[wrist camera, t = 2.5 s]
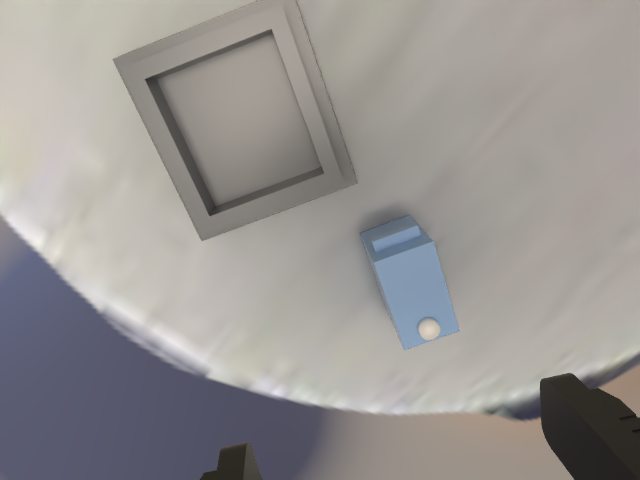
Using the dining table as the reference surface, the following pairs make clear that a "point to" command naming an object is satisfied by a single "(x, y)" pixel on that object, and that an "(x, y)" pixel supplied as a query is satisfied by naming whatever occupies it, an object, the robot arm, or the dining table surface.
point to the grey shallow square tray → (239, 116)
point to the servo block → (410, 281)
